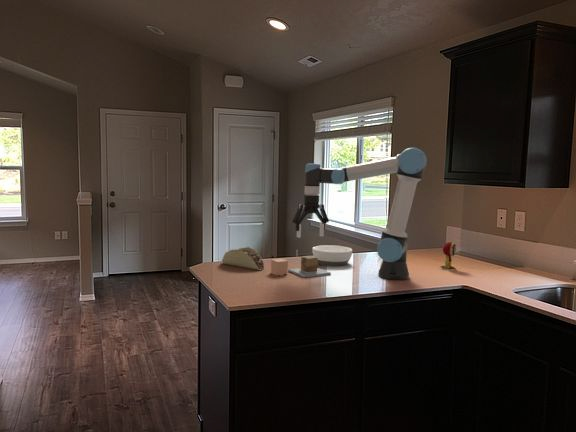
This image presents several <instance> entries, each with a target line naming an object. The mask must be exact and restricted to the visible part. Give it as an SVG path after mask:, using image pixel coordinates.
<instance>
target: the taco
mask: <svg viewBox="0 0 576 432" xmlns="http://www.w3.org/2000/svg"><path fill="white" fill-rule="evenodd" d="M222 262H223V263H222ZM221 263H222V264H224V265H227V266H234V267H238V268H245V269H250V270H255V271H260V269H261V271H263V270H264V269H265V264H264V261H263V257H262V256H261V254H260V253H259V252H258V251H257V250H256V249H253V248H251V247H249V246H247V247H246V246H245V247H240V248H238V249H237V248H236V249H230V250H228V251H226V252H225V253H224V255H223V257H222V258H221Z"/></svg>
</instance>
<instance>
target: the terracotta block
mask: <svg viewBox="0 0 576 432" xmlns="http://www.w3.org/2000/svg"><path fill="white" fill-rule="evenodd" d="M270 263H271V265H270V270H271V271H270V274H272V275H274V274H275V275H274V276H276V275H280V276H285V275H284V274H287V275H288V269H289V268H288V265H289V264H288V263H289V262H288V260H287V259H284V258H274V259H271V262H270Z"/></svg>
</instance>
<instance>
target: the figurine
mask: <svg viewBox="0 0 576 432" xmlns="http://www.w3.org/2000/svg"><path fill="white" fill-rule="evenodd" d="M442 252H443V254H444V255H445V259H444V265H440V266H439V267H438V269H440V270H441V269H442V271H447V270H450V271H449V272H452V271H451V270H455V271H457V268H456V267H454V266H452V260H453V259H452V257H454V256H455V255H456V254H457V245H456V244H455V242H452V241H449V242H446V243H444V244H443V246H442Z"/></svg>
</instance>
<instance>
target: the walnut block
mask: <svg viewBox="0 0 576 432" xmlns="http://www.w3.org/2000/svg"><path fill="white" fill-rule="evenodd" d="M300 260H301V261H300V268H301V270H302V271H305V272H316V271H317V268H318V258H317V257H314V256H313V255H303V256H301V258H300Z"/></svg>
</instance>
